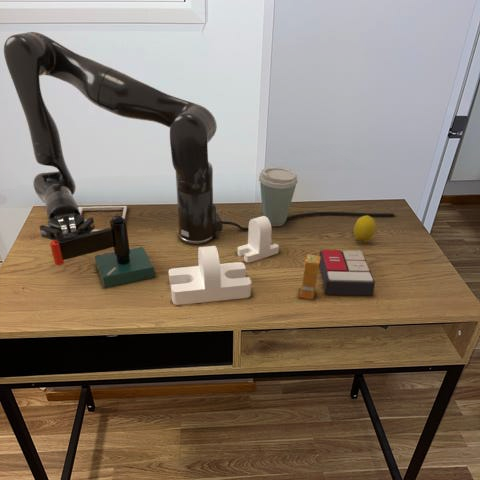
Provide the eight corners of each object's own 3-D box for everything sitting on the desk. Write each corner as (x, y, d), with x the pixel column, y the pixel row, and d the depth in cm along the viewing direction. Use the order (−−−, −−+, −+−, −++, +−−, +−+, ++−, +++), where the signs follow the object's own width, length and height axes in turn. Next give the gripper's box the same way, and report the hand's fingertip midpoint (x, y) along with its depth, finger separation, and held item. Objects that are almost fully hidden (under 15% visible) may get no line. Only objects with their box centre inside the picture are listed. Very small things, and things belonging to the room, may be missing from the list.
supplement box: (314, 300, 114) (319, 263, 108) (299, 298, 115) (304, 261, 108) (315, 292, 117) (321, 255, 110) (301, 290, 117) (305, 253, 111)
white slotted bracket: (251, 297, 114) (253, 257, 108) (173, 305, 111) (170, 264, 105) (242, 274, 122) (244, 235, 115) (169, 281, 119) (165, 241, 112)
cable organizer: (279, 252, 130) (282, 218, 124) (247, 263, 126) (248, 227, 119) (267, 243, 133) (270, 209, 127) (236, 253, 129) (237, 218, 123)
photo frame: (63, 206, 145) (126, 205, 146) (64, 210, 145) (126, 208, 147) (53, 231, 133) (121, 229, 135) (54, 234, 134) (122, 233, 136)
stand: (143, 256, 127) (141, 239, 124) (154, 277, 120) (152, 259, 117) (96, 266, 123) (93, 248, 120) (104, 287, 116) (101, 269, 113)
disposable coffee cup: (274, 209, 149) (278, 160, 140) (301, 222, 143) (307, 172, 134) (248, 220, 143) (251, 170, 134) (275, 234, 137) (279, 183, 128)
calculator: (363, 249, 125) (376, 280, 113) (360, 263, 128) (372, 295, 116) (319, 247, 125) (328, 278, 113) (317, 262, 128) (325, 294, 116)
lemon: (349, 244, 134) (354, 217, 129) (354, 235, 138) (359, 209, 133) (370, 249, 133) (376, 222, 128) (374, 239, 137) (379, 213, 132)
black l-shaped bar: (126, 247, 120) (121, 210, 114) (132, 254, 118) (127, 216, 111) (54, 266, 113) (44, 228, 107) (58, 274, 110) (49, 235, 104)
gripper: (31, 201, 119) (38, 235, 107) (87, 193, 123) (100, 224, 111) (38, 229, 124) (46, 264, 111) (92, 220, 128) (105, 253, 116)
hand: (73, 244), depth 111 cm, fingers closed
